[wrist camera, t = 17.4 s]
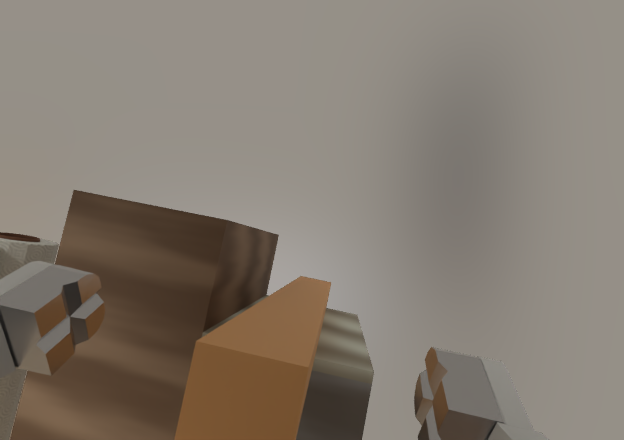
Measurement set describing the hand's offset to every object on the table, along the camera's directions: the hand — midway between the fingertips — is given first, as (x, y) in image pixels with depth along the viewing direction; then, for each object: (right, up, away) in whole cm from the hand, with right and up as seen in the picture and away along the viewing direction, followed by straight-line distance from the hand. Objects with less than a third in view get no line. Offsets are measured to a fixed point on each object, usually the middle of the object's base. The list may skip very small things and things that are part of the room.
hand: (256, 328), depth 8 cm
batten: (0, -4, +13) cm, 14 cm away
